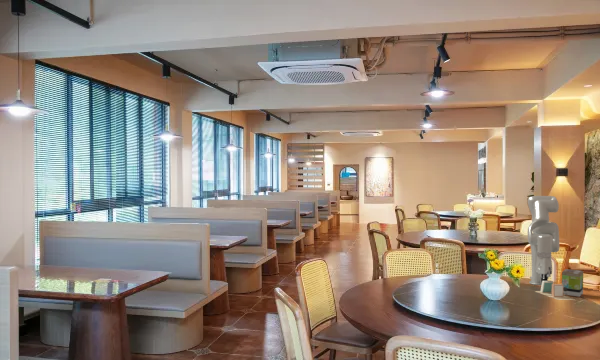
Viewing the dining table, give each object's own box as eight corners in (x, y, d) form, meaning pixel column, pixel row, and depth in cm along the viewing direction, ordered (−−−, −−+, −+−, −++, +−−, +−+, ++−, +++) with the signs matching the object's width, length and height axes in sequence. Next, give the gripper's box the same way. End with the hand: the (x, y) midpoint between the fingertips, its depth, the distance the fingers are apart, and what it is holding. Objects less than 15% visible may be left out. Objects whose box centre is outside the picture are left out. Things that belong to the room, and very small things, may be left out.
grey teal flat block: (540, 291, 280) (542, 280, 278) (549, 291, 280) (551, 280, 279) (542, 292, 278) (544, 282, 276) (551, 292, 278) (553, 282, 277)
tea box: (580, 298, 268) (580, 273, 269) (561, 296, 274) (561, 271, 275) (583, 294, 280) (583, 270, 281) (564, 292, 286) (564, 268, 287)
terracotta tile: (551, 296, 269) (551, 284, 269) (561, 296, 269) (561, 284, 270) (553, 296, 267) (553, 284, 267) (563, 296, 267) (563, 284, 268)
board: (534, 293, 282) (534, 291, 282) (551, 293, 283) (551, 291, 283) (557, 301, 260) (557, 299, 260) (575, 301, 261) (575, 299, 261)
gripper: (531, 253, 288) (531, 282, 288) (545, 256, 273) (546, 287, 273) (542, 253, 289) (542, 282, 288) (557, 257, 274) (557, 287, 274)
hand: (544, 285), depth 281 cm, fingers closed
